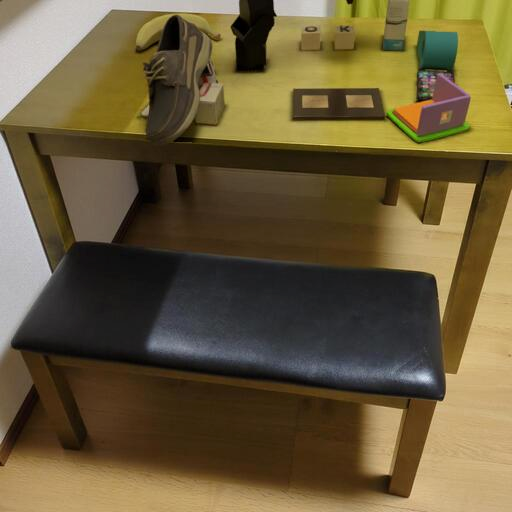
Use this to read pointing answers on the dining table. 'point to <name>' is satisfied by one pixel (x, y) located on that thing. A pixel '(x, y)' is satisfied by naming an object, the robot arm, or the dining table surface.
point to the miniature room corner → (435, 113)
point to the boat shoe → (175, 79)
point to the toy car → (208, 75)
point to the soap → (146, 111)
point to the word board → (337, 104)
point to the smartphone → (430, 82)
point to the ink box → (395, 24)
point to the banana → (155, 27)
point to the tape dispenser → (437, 49)
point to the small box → (210, 103)
